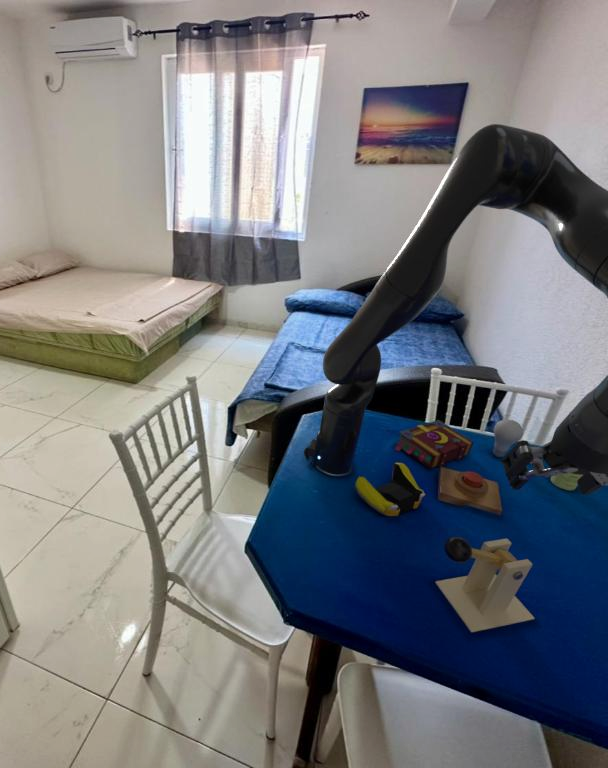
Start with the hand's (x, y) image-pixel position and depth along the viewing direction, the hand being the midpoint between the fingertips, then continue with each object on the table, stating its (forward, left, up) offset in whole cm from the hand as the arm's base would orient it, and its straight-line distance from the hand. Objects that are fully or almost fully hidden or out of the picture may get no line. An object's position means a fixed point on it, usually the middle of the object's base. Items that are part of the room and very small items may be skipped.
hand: (547, 485), depth 59 cm
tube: (+19, +42, -26) cm, 53 cm away
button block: (-2, +27, -26) cm, 37 cm away
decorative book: (-10, +41, -26) cm, 50 cm away
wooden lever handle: (-6, -6, -14) cm, 16 cm away
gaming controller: (-18, +17, -26) cm, 36 cm away
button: (-2, +27, -22) cm, 35 cm away
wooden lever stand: (-1, -2, -26) cm, 26 cm away
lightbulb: (+6, +47, -26) cm, 54 cm away
